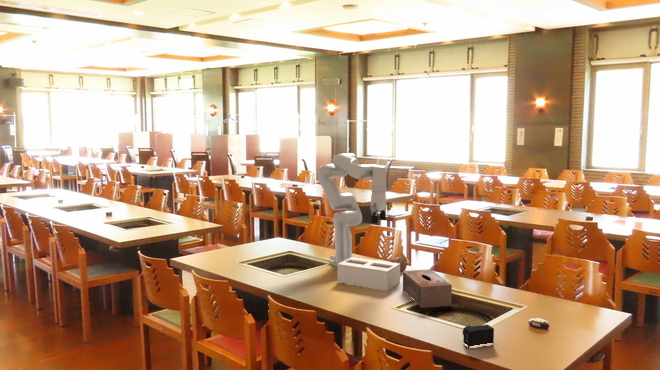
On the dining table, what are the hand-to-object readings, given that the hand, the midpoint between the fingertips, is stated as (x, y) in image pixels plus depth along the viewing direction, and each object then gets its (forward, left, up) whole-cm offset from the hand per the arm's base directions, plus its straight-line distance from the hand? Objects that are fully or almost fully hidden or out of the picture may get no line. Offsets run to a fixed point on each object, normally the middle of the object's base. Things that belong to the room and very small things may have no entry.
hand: (378, 221), depth 294 cm
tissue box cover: (+34, -20, -31) cm, 50 cm away
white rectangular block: (0, -12, -30) cm, 32 cm away
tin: (+6, +12, -30) cm, 33 cm away
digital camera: (+70, -62, -30) cm, 98 cm away
